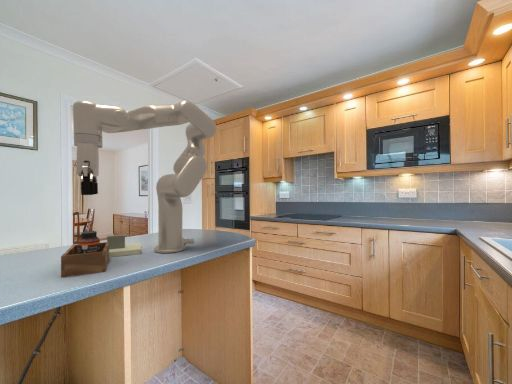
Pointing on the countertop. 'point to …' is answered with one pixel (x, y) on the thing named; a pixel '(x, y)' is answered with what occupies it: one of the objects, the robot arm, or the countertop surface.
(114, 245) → the lid
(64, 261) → the box
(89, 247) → the supplement bottle
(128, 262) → the countertop surface
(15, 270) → the countertop surface
